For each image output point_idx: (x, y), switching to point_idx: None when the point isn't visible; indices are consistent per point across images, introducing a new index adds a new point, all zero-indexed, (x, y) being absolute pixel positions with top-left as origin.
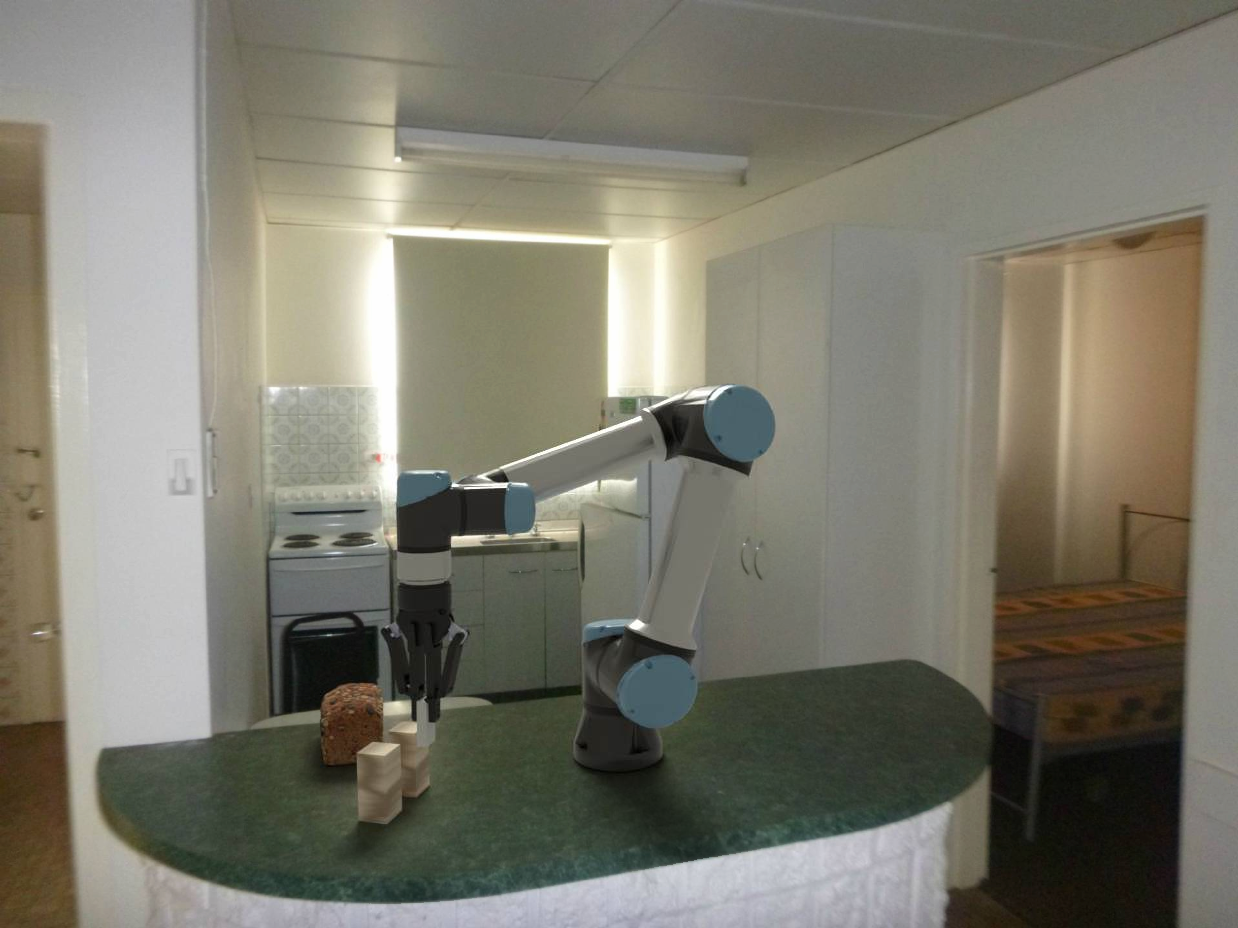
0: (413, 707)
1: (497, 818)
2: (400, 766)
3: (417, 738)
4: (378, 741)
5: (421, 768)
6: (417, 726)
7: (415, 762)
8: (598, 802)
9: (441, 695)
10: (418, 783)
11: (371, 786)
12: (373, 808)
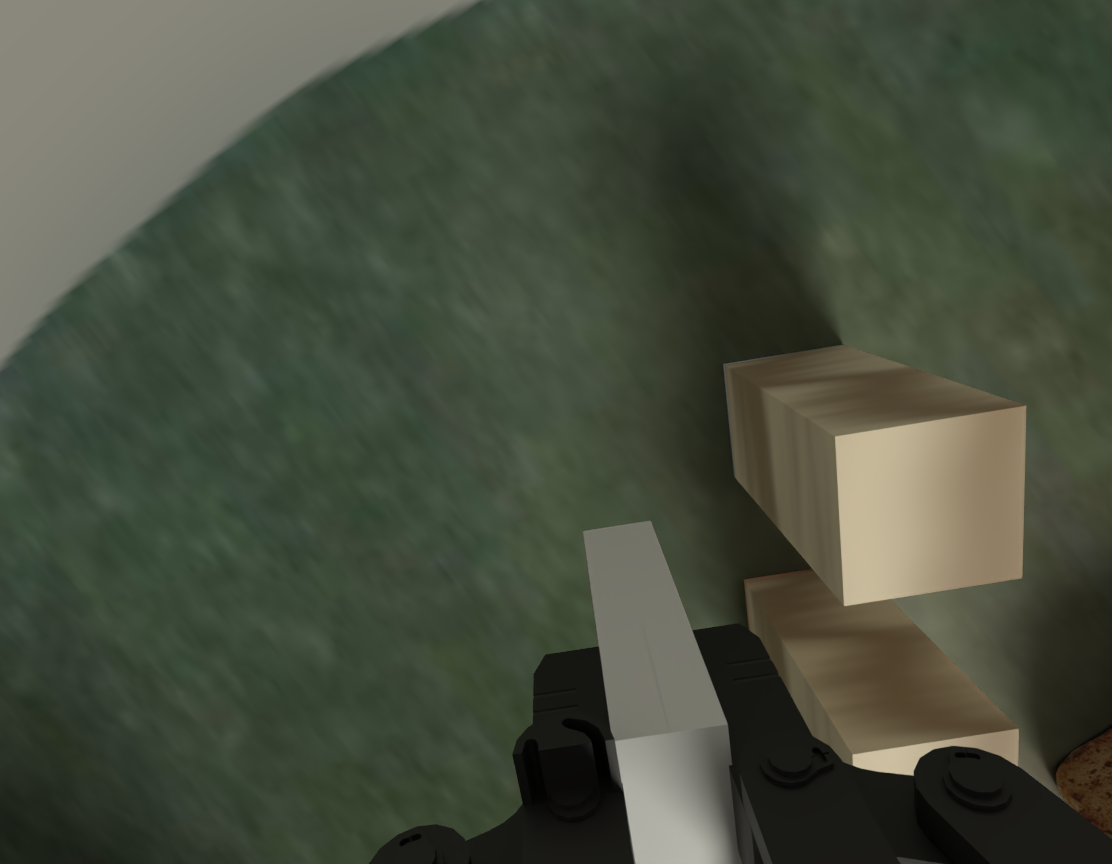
0: (766, 696)
1: (366, 553)
2: (796, 546)
3: (655, 543)
4: (1109, 824)
5: (779, 675)
6: (669, 585)
7: (792, 657)
8: (120, 775)
9: (416, 841)
10: (759, 620)
11: (844, 381)
12: (798, 365)
